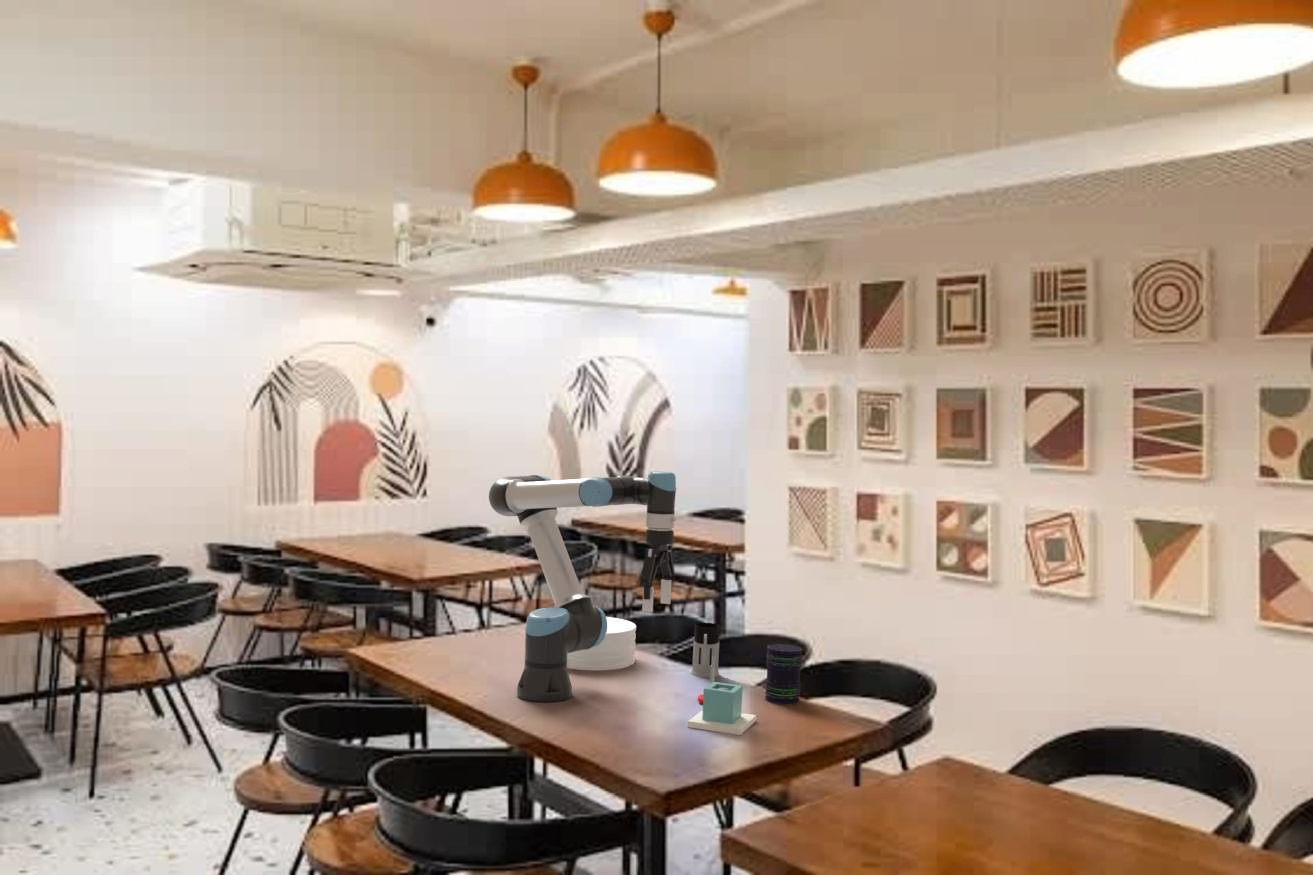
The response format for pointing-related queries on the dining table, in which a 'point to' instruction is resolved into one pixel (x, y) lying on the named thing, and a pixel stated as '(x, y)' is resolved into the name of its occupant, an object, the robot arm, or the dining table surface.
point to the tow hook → (710, 679)
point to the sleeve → (722, 703)
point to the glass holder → (705, 649)
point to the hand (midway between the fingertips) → (656, 607)
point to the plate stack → (608, 649)
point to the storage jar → (783, 674)
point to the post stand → (734, 728)
